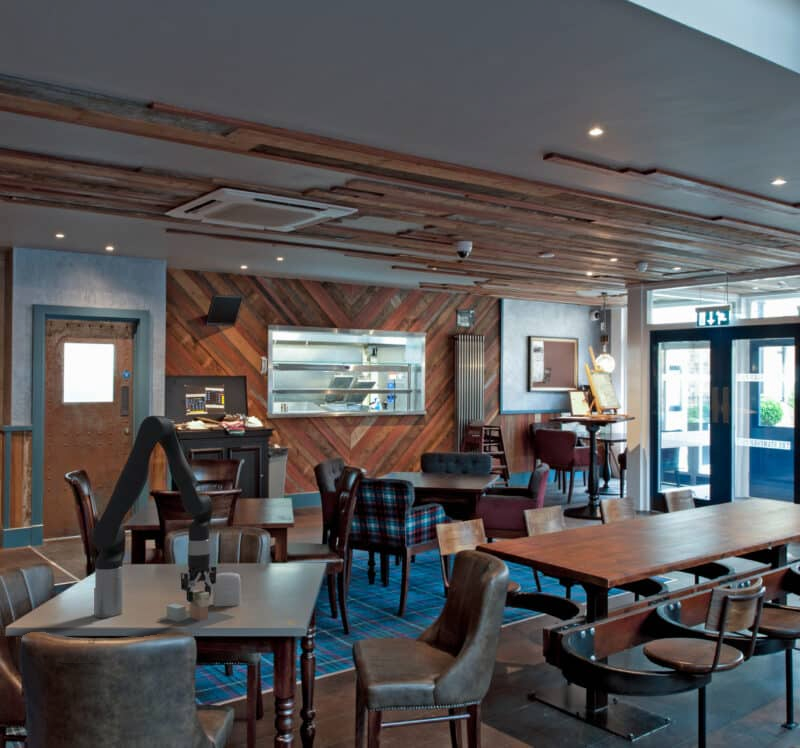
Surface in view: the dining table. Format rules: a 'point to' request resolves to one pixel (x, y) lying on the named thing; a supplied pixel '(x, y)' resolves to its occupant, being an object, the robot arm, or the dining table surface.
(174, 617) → the grey green brick
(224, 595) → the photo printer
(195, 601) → the maple brick
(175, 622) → the charcoal mat
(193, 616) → the terracotta brick
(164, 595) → the dining table surface
